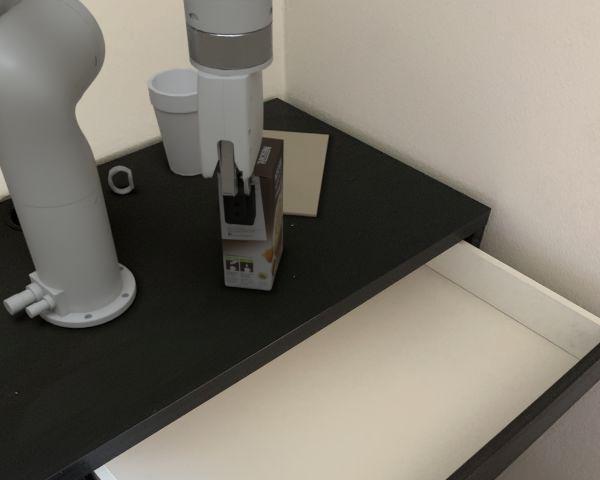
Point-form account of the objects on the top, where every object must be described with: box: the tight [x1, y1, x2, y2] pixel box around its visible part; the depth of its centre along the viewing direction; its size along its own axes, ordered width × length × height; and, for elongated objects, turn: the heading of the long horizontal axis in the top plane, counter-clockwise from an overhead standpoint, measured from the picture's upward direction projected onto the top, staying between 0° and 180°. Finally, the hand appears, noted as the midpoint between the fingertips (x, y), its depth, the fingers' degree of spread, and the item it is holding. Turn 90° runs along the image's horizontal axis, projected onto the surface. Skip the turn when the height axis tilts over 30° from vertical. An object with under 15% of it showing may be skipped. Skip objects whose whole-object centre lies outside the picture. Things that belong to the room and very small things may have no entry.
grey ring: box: [107, 165, 135, 195], centre depth 98 cm, size 4×2×4 cm, turn 105°
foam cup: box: [146, 67, 202, 177], centre depth 100 cm, size 10×9×13 cm
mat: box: [262, 129, 330, 218], centre depth 104 cm, size 24×14×1 cm, turn 174°
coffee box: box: [216, 137, 284, 291], centre depth 82 cm, size 9×6×16 cm
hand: (240, 220), depth 72 cm, fingers closed
